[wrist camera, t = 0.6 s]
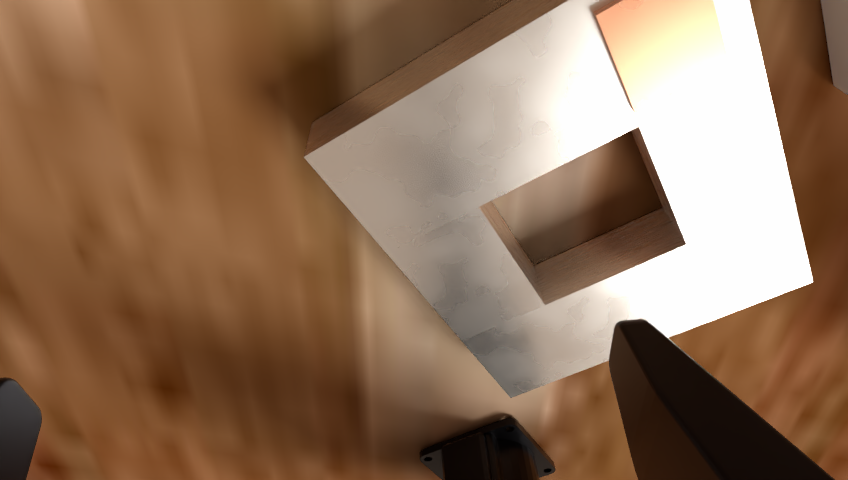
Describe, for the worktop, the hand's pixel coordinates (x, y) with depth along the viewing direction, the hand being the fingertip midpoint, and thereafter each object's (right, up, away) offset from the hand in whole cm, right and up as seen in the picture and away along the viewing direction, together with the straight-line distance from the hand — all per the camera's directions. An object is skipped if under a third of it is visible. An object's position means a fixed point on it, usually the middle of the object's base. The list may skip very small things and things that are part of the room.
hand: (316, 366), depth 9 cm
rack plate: (+8, +4, +15) cm, 17 cm away
